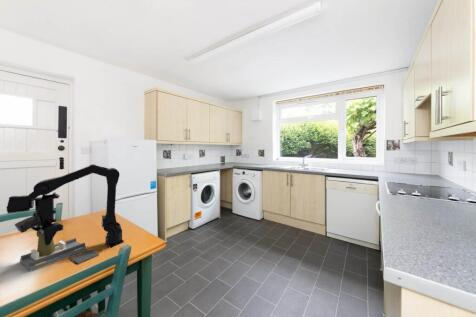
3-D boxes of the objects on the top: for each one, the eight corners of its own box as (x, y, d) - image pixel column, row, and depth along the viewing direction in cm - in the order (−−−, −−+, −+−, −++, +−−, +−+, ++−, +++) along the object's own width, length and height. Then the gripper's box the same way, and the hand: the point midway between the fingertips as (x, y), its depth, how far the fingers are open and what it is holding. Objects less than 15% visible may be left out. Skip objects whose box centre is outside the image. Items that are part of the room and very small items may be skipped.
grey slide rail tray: (74, 243, 98) (74, 237, 98) (86, 249, 92) (86, 243, 92) (20, 262, 81) (19, 255, 81) (30, 271, 75) (30, 264, 75)
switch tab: (60, 246, 91) (60, 239, 91) (67, 250, 88) (66, 243, 87) (30, 256, 82) (30, 249, 82) (36, 261, 79) (36, 254, 78)
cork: (59, 248, 87) (58, 225, 86) (46, 256, 81) (44, 231, 80) (46, 248, 87) (44, 225, 86) (32, 256, 81) (30, 231, 80)
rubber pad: (90, 250, 92) (90, 249, 92) (99, 255, 88) (99, 254, 88) (69, 258, 84) (69, 257, 84) (78, 264, 81) (78, 263, 81)
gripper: (9, 210, 80) (10, 246, 80) (25, 219, 71) (26, 259, 72) (45, 203, 90) (46, 235, 90) (63, 211, 81) (64, 246, 82)
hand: (45, 243), depth 83 cm, fingers closed on cork, 4 cm apart
